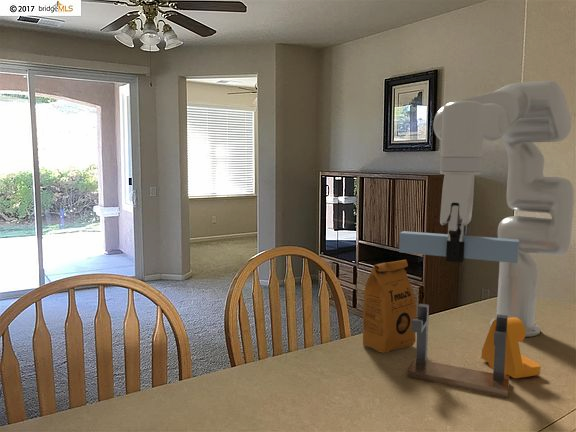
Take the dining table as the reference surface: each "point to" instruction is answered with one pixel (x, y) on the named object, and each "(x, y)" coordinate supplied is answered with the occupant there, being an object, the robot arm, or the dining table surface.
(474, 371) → the stand
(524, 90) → the robot arm
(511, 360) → the bracket
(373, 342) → the coffee package
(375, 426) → the dining table surface
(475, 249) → the rail
